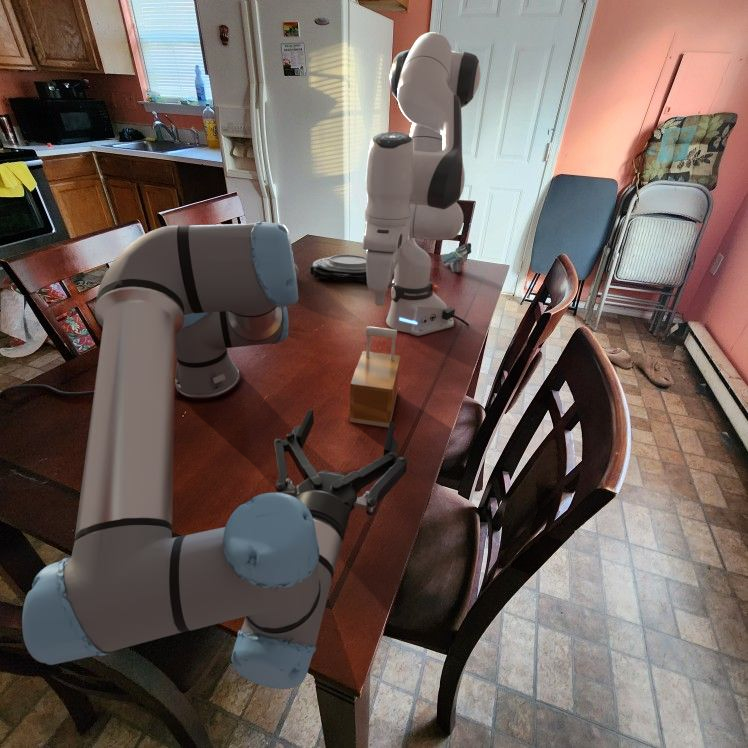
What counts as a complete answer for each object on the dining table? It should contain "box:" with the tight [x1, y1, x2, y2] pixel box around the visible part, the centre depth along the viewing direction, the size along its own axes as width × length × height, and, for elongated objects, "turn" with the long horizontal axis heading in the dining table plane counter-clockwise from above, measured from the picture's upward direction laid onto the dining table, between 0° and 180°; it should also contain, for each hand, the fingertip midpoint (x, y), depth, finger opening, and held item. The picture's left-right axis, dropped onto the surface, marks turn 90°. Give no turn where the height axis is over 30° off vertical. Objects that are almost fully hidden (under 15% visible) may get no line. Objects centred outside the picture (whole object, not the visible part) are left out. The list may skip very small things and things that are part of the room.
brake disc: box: [310, 254, 367, 283], centre depth 171 cm, size 32×30×5 cm
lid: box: [349, 325, 401, 393], centre depth 92 cm, size 14×9×9 cm
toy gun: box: [441, 242, 472, 273], centre depth 173 cm, size 4×19×10 cm
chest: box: [349, 361, 401, 428], centre depth 97 cm, size 13×9×10 cm
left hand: (351, 421), depth 68 cm, fingers open, 13 cm apart
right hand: (383, 294), depth 88 cm, fingers open, 8 cm apart
